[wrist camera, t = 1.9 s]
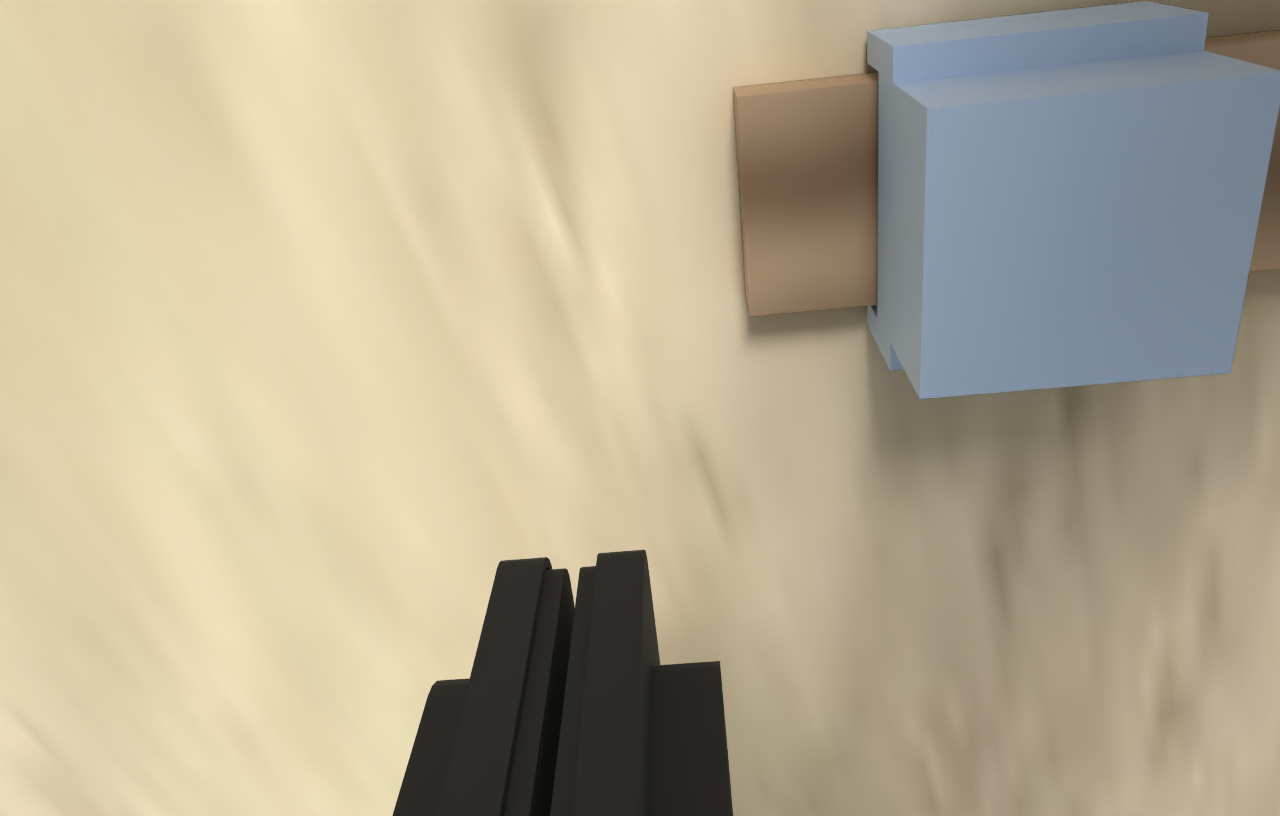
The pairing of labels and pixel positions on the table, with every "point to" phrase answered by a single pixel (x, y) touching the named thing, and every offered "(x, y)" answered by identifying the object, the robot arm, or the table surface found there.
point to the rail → (865, 186)
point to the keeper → (1065, 198)
